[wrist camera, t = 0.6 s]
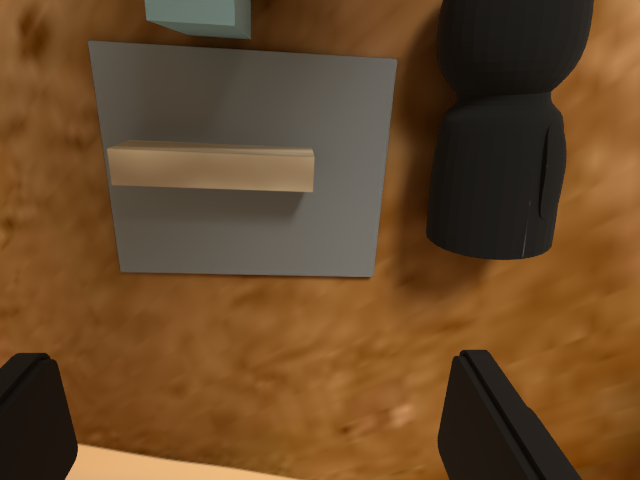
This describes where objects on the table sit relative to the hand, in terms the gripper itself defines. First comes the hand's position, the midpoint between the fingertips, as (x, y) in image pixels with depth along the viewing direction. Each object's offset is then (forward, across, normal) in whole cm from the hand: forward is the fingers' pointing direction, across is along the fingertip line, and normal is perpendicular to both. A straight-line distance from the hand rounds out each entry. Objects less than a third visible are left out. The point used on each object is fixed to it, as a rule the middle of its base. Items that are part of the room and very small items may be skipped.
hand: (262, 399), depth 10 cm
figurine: (+26, -15, -5) cm, 30 cm away
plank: (+26, +5, -1) cm, 26 cm away
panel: (+26, +3, 0) cm, 26 cm away
